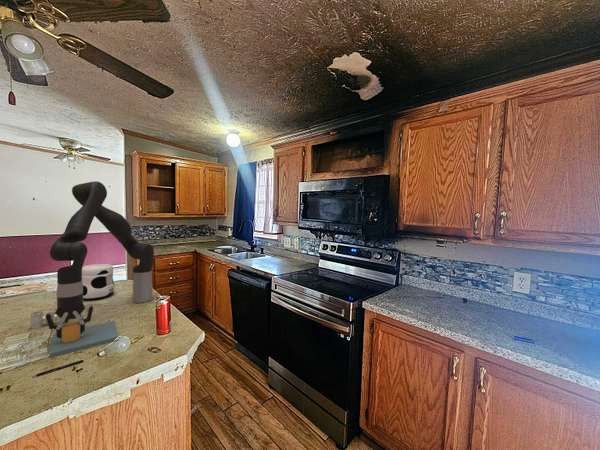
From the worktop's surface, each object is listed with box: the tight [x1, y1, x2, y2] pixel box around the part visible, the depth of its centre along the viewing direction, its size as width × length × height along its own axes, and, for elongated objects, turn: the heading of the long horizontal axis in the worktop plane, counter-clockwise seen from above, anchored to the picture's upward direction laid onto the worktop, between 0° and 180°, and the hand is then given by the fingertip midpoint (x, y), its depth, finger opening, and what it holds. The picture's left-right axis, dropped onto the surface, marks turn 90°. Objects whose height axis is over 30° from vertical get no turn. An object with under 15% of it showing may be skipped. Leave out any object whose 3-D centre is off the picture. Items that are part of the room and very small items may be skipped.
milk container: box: [82, 263, 116, 300], centre depth 148 cm, size 17×17×18 cm
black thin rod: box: [31, 359, 84, 379], centre depth 83 cm, size 12×1×1 cm, turn 136°
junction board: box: [48, 320, 119, 358], centre depth 103 cm, size 20×18×2 cm
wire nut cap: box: [61, 320, 80, 343], centre depth 99 cm, size 5×5×6 cm
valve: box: [29, 310, 69, 330], centre depth 113 cm, size 7×7×12 cm
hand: (71, 335), depth 99 cm, fingers open, 5 cm apart
